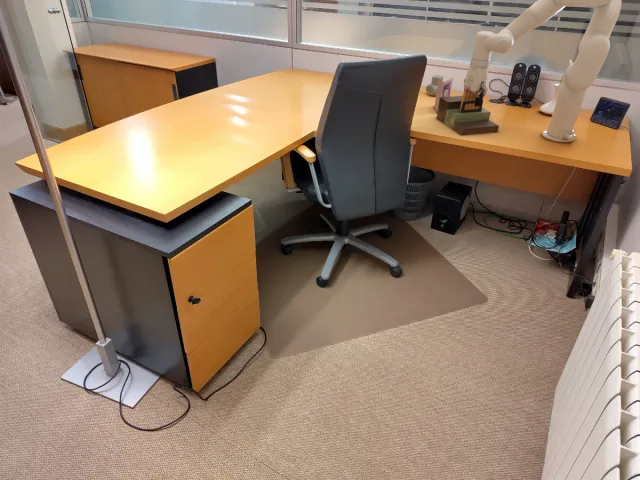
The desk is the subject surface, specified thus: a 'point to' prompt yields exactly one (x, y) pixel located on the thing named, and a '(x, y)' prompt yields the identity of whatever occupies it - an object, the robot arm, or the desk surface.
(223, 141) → the desk surface
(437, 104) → the greeting card
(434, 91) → the grey pipe tee fitting
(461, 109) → the ammunition clip
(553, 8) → the robot arm
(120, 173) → the desk surface
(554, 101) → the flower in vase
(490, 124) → the step shelf
